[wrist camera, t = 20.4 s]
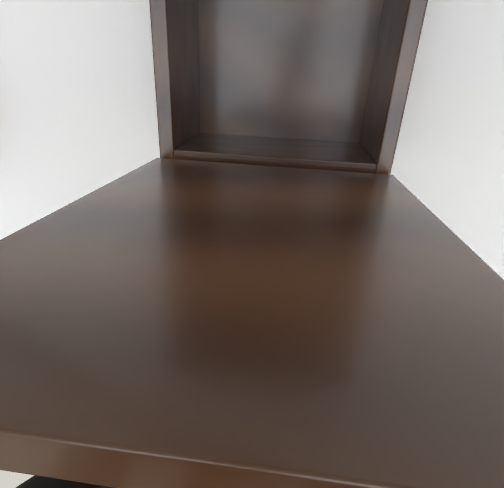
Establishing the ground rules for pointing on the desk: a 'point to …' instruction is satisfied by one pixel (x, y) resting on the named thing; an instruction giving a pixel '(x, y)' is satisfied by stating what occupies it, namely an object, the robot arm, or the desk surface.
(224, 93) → the wooden box
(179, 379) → the lid
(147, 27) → the desk surface
